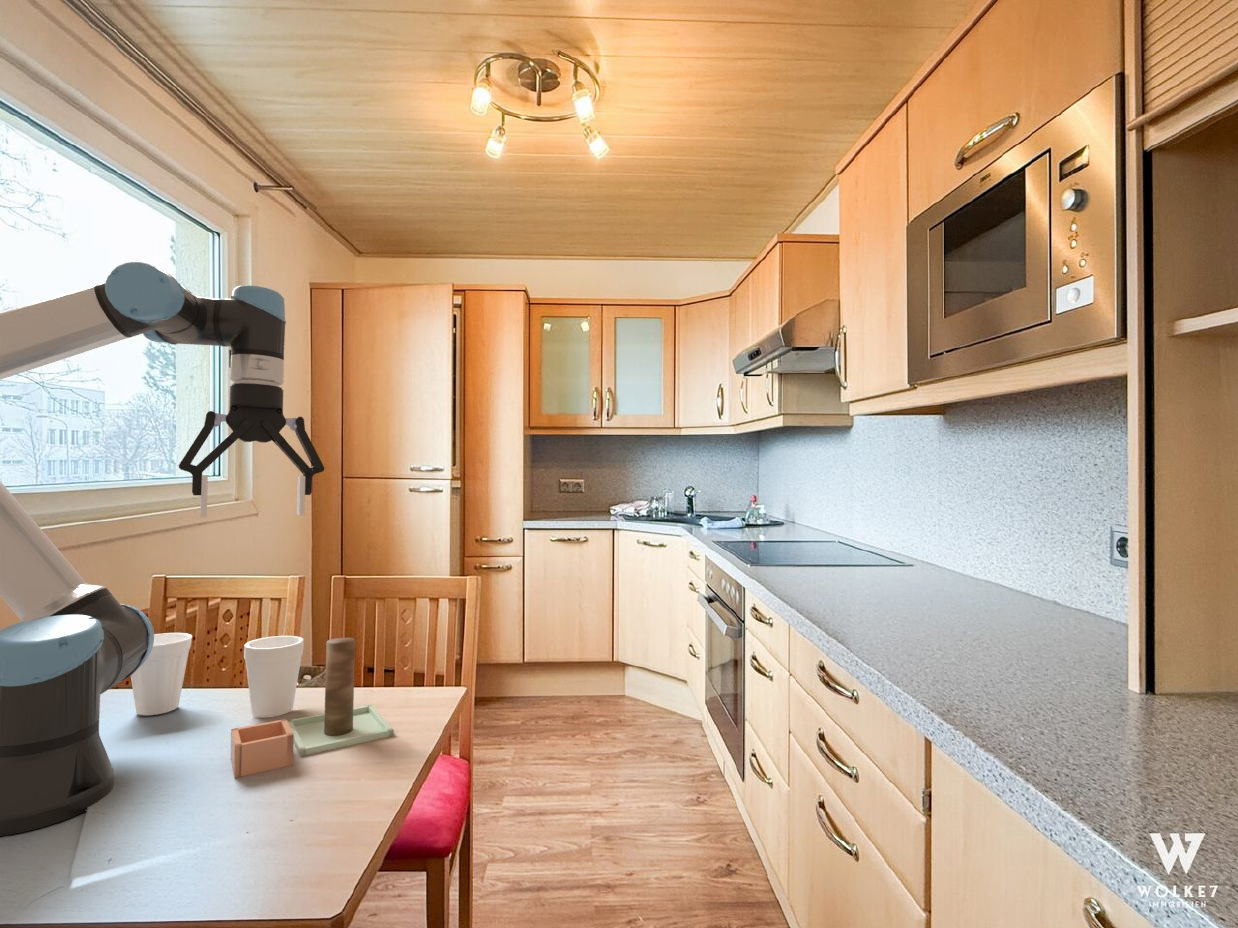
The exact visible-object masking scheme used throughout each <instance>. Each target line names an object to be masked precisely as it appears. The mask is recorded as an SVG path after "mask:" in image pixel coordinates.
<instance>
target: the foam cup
mask: <svg viewBox="0 0 1238 928" xmlns="http://www.w3.org/2000/svg"><path fill="white" fill-rule="evenodd" d="M304 642H305V639H304V638H303V637H301V636H296V635H277V636H276V635H275V636H267V637H260V638H257V639H253V640H250V641H247V642H246V643H245V644H244V646H243V659H244V661H245V667H246V675H247V677H246V678H247V684H248V692H249V702H250V711H251V716H252V718H253V719H257V718H260V719H261V718H265V719H266V718H268V719H269V718H274V717H275V718H276V717H279V716H284V715H286V714H288V713H291V712H293V709H294V705H295V697H296V690H297V686H298V680H299V673H300V668H301V662H302V657H303V653H304V647H305V646H304V644H305V643H304Z"/></svg>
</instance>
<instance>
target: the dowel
mask: <svg viewBox="0 0 1238 928" xmlns="http://www.w3.org/2000/svg"><path fill="white" fill-rule="evenodd" d="M325 644H326V645H325V646H326V648H325V649H326V651H325V652H326V653H325V681H324V682H325V683H324V684H325V686H324V687H325V690H324V691H325V692H324V713H325V721H324V734H325V735H328V736H340V735H344V734H347V733H350V732H351V731H352V730H353V708H354V700H355V699H354V698H355V695H354V694H355V693H354V692H355V661H356V660H355V656H356V655H355V654H356V653H355V652H356V651H355V650H356V639H355V638H353V637H338V638H337V637H336V638H332V639H328V640H327V641H326V643H325Z"/></svg>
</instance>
